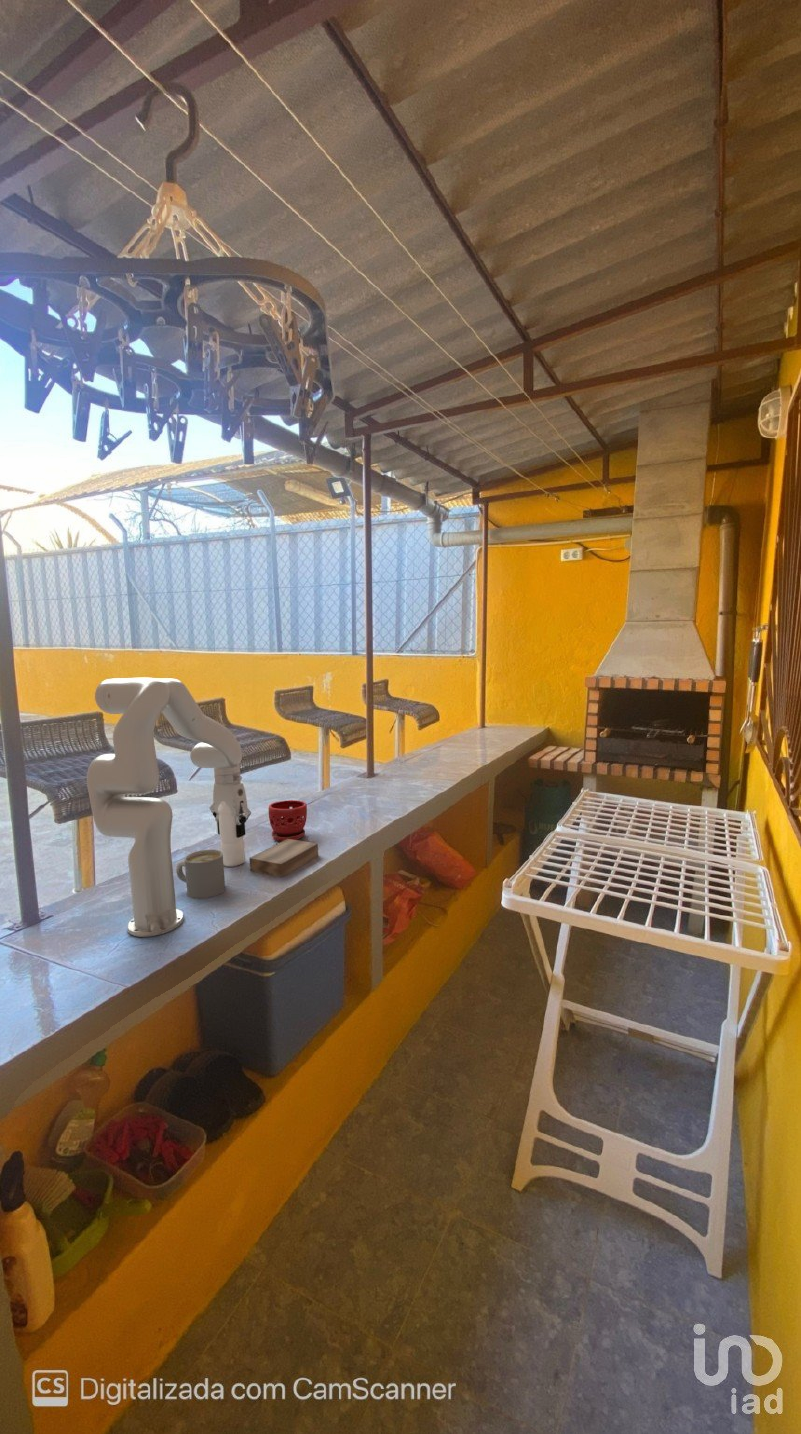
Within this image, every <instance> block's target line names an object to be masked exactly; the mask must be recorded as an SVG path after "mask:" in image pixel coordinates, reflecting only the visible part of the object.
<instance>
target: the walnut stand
mask: <svg viewBox="0 0 801 1434" xmlns="http://www.w3.org/2000/svg"><path fill="white" fill-rule="evenodd" d="M318 856H319V844H318V843H316V842H311V841H310V842H309V841H303V840H299V839H297V840H292V839H286V840H284V841H280V842H278V843H277V844H275V845H274V844H273V846H271V847H269V848H266V849H265V850H262V851H260V852H259V853H256V854H255V855H252V856H251V857H249V858H248V859H249V867H250V868H249V870H250V872H254V873H259V874H264V875H269V876H273V875H274V877H278V876H279V877H278V878H283V877H286V875H288V874H290V873H293V871H295V870H297V869H298V868H301V867H302V866H303V865H305V864H307V863H308V861H309V862H311V861H312V860H314V859H316V858H317V857H318ZM306 862H307V863H306Z"/></svg>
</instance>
